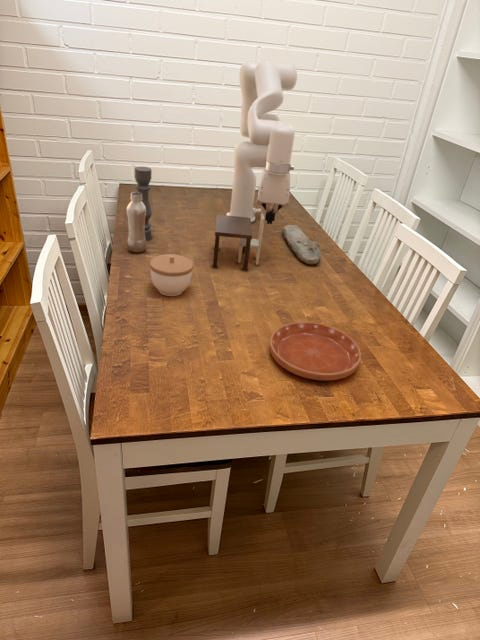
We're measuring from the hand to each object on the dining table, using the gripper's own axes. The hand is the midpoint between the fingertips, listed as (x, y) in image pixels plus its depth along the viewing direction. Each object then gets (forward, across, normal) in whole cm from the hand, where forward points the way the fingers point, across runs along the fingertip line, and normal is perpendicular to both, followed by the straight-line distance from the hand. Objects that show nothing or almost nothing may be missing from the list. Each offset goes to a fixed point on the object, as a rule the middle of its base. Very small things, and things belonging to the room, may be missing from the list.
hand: (269, 222), depth 160 cm
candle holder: (+15, +44, -12) cm, 48 cm away
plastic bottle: (+15, +44, 0) cm, 47 cm away
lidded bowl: (+15, +30, +27) cm, 43 cm away
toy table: (+15, +12, 0) cm, 19 cm away
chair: (+15, +6, 0) cm, 16 cm away
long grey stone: (+15, -15, -17) cm, 27 cm away
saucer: (+15, -10, +56) cm, 58 cm away
